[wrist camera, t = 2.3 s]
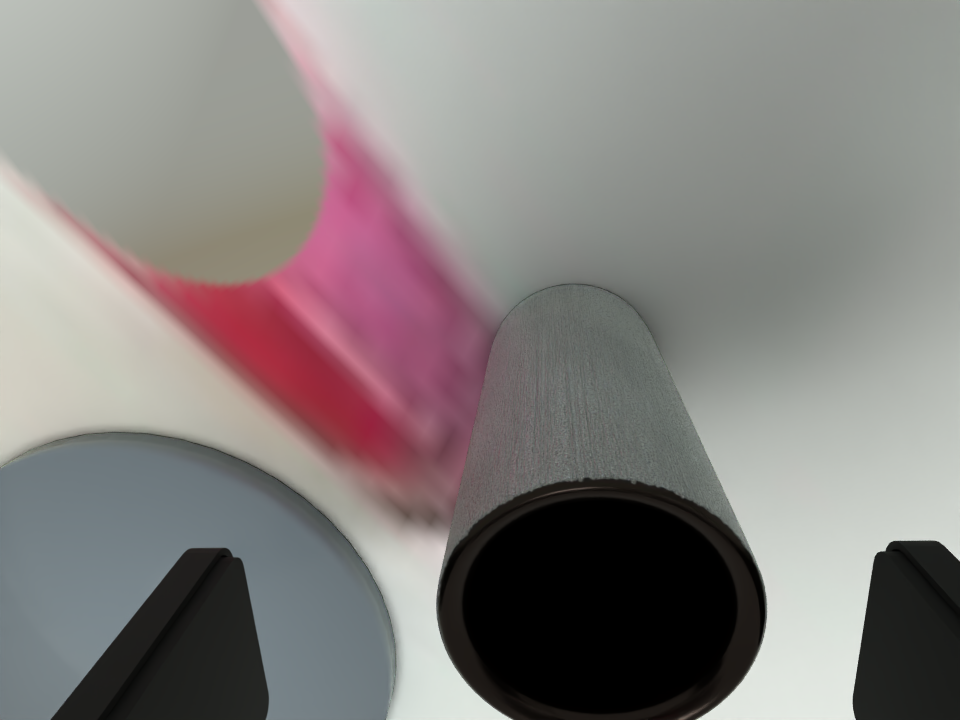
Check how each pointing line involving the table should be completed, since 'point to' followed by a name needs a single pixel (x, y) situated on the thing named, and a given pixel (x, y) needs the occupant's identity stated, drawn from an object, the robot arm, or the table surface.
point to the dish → (153, 552)
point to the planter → (593, 530)
